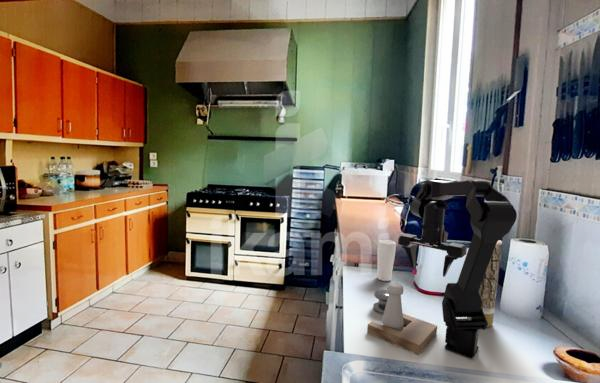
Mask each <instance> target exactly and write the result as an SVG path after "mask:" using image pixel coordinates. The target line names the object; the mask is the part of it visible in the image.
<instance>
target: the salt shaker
mask: <svg viewBox="0 0 600 383" xmlns="http://www.w3.org/2000/svg"><path fill="white" fill-rule="evenodd" d="M386 290H387V292H388V293H389V295H388V299H387V303H386V307H385V311H384V314H382V317H381V323H382V324H381V325H384V326H386V327H389V328H391V329H394V330H396V331H399V332H401V331H402V330H403V328H404V327H403V325H404V322H403V314H404V313H403V305H402V304H403V303H402V295H403V294H404V286H403V285H402V284H400V283H397V282H390V283H388V284H387V287H386Z"/></svg>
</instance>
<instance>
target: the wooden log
mask: <svg viewBox="0 0 600 383" xmlns="http://www.w3.org/2000/svg"><path fill="white" fill-rule="evenodd" d="M502 247H503V240H501V239H500V240H498V241H497V243H496V246H495V249H494V251H493V254H492V257H491V259H490V262H489V265H488V267H487V270H486V273H485V275H484V278H483V281H482V283H481V286H480V289H479V294H480V296H481V299H482V305H481V307H482V310H483V312H484V315H485V317H486V320H487V322H488V325H487V327H486V328H489V327H492V325H493V324H494V316H495V307H496V298H497V290H498V282H499V272H500V267H501V266H500V265H501V257H502ZM466 318H471V317H466Z"/></svg>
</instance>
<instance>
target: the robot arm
mask: <svg viewBox="0 0 600 383" xmlns="http://www.w3.org/2000/svg"><path fill="white" fill-rule="evenodd" d="M458 196H459V197H462V196H463V197H466V202H465V203H466V204H465V207H466V210H467V211H468V213H469V215H470V218H469V223H470V227H471V229H472V231H473V235H472V237H471V241H470V243H469V246H468V248H467V246H466V245H465V244H462V243H458V242H451V243H449V244H446V243H447V241H448V236H449V232H447V231H446V230H445V225H444V222H445V212H446V210H449V205H448V204H447V203H446V202H445V201H447V200H449V199H452V198H453V197H458ZM476 197H482V198H483V200H480V201H478V199H477V198H476ZM409 210H410V212H411V214H413V215H414V216H416V217H418V218H421V219H423V220H422V224H421V228H420V229H421V230H422V233H421V237H420V238H418V236H417V235H416V234H411V233H404V234H401V235H399V236H398V239H397V244H398V246H401V248H402V249H404V251H405V253H406V254H407V258H408V260H409V263H410V265H411V268H412V269H413V270H414V269H415V268H416V264H417V262H416V260H417V249H418V246H420V247H425V248H430V249H435V250H440V251H443V252H444V251H445V252H446V253H447V254H446V255H445V256H444V260H443V261H444V262H443V269H442V276H443V278H444V277H446V275H447V274H448V272H449V270H450V268H451V266H452V264H453V262H454V261H455V260H456V261H457V260H458V259H460V258H464V256H465V258H464V262H463V264H462V267H461V270H460V273H459V276H458V280H457V282H449V283H448V282H447V285H446V286H445V291H444V293H443V294H442V296H443V298H442V302H441V307H442V318H443V322H444V323H445V324H444V325H445V326H446V330H445V339H444V342H445V345H444V348H445V349H446V350H448V351H450V352H453V353H456V354H458V355H461V356H463V357H466V358H469V359H474V357H475V356H476V354H477V352H478V351H479V348H480V347H479V346H478V340H479V333H480V331H479V330H487V328H488V327H487V325H488V322H487V320H486V317H485V315H484V312H483V310H482V307H481V305H482V299H481V296H480V294H479V289H480V286H481V283H482V281H483V278H484V275H485V273H486V270H487V267H488V265H489V262H490V259H491V257H492V254H493V251H494V249H495V246H496V243H497V241H498V240H501V239H503V238H504V237H505V236H506V235H507V234H509V233H510V232H511V230H512V228H513V226H514V225H515V223H516V221H517V216H518V213H517V210H516V209H515V207H514V206H513V204H512V203H511V201H510V200H509V198H508V197H506V196H505V194H503V193H501V192H500V191H498V190H496V189H495V188H494V187H493V186H492V184H491V183H490V182H489V181H488V180H486V179H471V178H470V179H467V180H462V181H461V180H460V181H450V180H437V179H436V180H434V179H426V180H425V181H424V182H423V183H422V184H421V187H420V189H419V191H418V192H417V194H416V197H415V199H413V200H412V201H411V203H410V205H409ZM467 317H471V318H467Z"/></svg>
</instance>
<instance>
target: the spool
mask: <svg viewBox="0 0 600 383" xmlns="http://www.w3.org/2000/svg"><path fill="white" fill-rule="evenodd" d="M373 295H374V298H375V299H377V300H378V302H375V303H373V308H372V309H373V310H374V311H375V312H376V313H378V314H381V315H383V314H384V311H385V307H386V303H387V299H388V295H389V293H388V292H387V289H377V290H374V294H373Z"/></svg>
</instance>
